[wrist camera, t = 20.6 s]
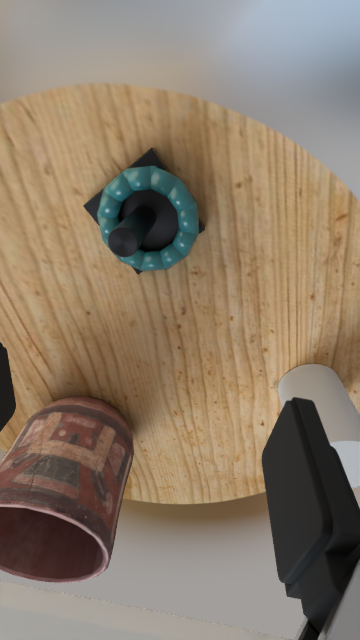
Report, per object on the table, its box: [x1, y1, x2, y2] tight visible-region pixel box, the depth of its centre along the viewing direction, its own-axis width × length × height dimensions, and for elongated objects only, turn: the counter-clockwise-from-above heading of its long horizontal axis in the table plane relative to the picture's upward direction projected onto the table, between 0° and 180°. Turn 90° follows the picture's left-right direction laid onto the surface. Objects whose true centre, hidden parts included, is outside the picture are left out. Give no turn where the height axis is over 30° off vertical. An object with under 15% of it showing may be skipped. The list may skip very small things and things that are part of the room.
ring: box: [97, 166, 199, 271], centre depth 31 cm, size 10×10×2 cm
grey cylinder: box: [278, 364, 360, 488], centre depth 37 cm, size 8×8×12 cm
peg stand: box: [84, 148, 205, 274], centre depth 28 cm, size 9×9×10 cm
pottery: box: [0, 396, 134, 583], centre depth 42 cm, size 18×18×18 cm
